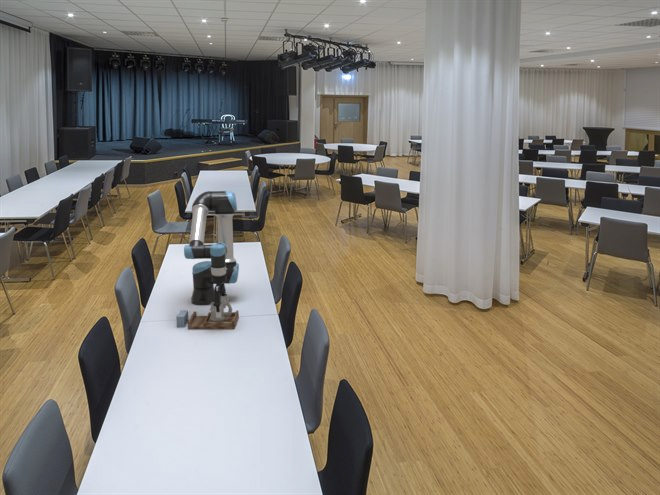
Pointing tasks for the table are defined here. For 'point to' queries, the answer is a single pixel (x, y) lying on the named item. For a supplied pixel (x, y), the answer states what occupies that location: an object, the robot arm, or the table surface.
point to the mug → (221, 312)
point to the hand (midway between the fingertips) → (221, 312)
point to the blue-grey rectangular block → (182, 318)
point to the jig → (206, 323)
